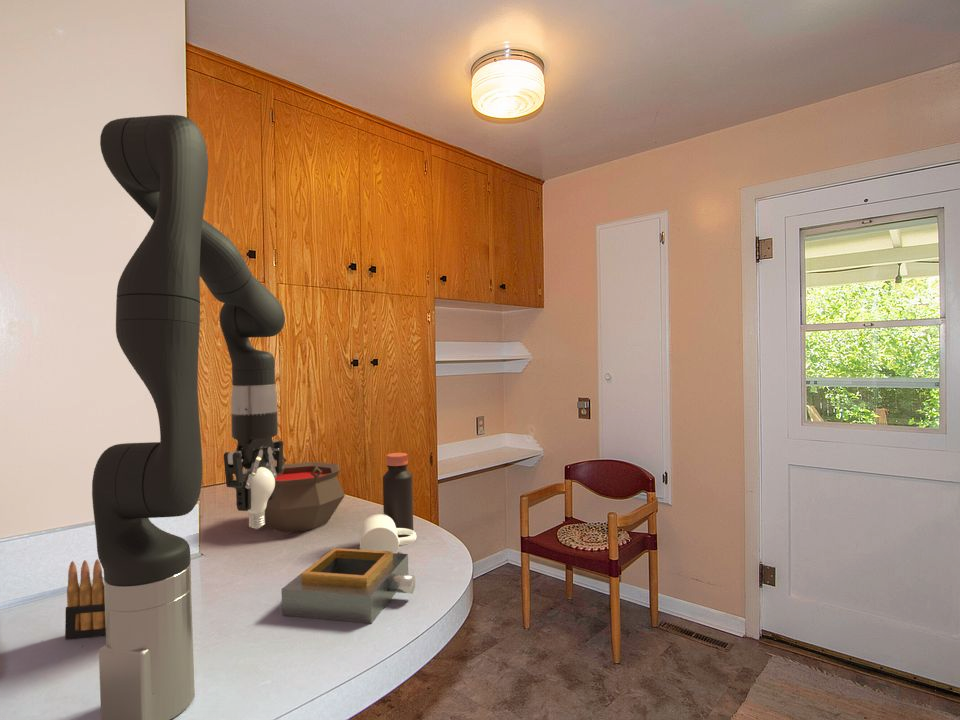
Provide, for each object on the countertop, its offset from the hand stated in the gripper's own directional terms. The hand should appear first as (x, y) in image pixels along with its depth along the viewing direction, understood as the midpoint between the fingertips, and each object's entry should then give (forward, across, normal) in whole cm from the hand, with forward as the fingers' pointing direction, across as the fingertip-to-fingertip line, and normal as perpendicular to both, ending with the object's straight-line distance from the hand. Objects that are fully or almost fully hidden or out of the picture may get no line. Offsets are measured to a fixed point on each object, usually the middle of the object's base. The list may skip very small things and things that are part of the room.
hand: (256, 504), depth 96 cm
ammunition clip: (+18, -14, +18) cm, 29 cm away
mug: (+17, +24, -15) cm, 33 cm away
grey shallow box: (+17, +6, -17) cm, 25 cm away
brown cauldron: (+17, +41, +16) cm, 48 cm away
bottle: (+17, +34, -14) cm, 40 cm away
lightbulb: (+4, 0, 0) cm, 4 cm away
